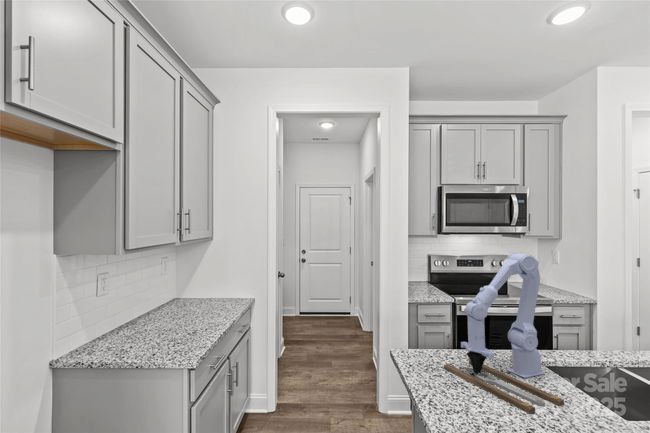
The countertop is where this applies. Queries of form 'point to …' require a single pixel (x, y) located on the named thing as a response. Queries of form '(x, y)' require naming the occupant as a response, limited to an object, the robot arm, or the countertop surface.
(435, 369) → the countertop surface
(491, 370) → the guide channel
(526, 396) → the adjustable wrench
